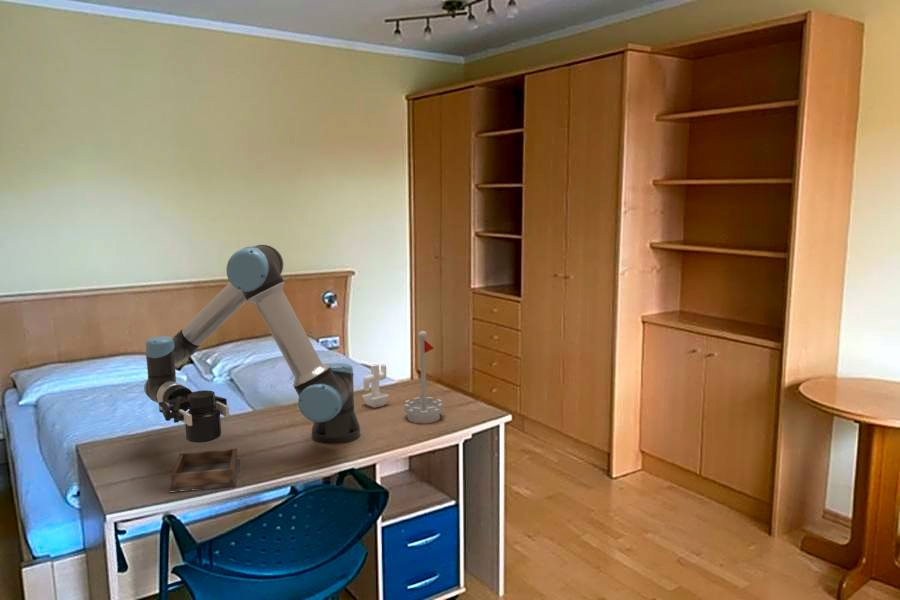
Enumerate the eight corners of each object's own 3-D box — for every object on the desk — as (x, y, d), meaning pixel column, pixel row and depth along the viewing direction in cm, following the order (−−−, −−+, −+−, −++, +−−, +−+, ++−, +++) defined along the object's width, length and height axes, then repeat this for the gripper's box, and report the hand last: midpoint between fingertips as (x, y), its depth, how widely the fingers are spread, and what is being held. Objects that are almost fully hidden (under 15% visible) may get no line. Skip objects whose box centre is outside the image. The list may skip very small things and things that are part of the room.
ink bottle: (206, 429, 184) (204, 387, 182) (229, 434, 179) (227, 391, 178) (177, 440, 175) (174, 396, 173) (200, 446, 171) (197, 401, 169)
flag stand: (396, 418, 225) (394, 331, 221) (423, 409, 235) (422, 325, 230) (424, 427, 217) (423, 336, 212) (450, 417, 226) (450, 330, 222)
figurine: (359, 405, 239) (357, 365, 237) (379, 400, 246) (379, 360, 243) (371, 410, 234) (370, 368, 232) (392, 404, 240) (391, 364, 238)
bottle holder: (239, 462, 188) (238, 447, 188) (235, 486, 173) (234, 469, 172) (179, 468, 185) (178, 453, 184) (169, 493, 169) (168, 476, 169)
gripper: (213, 402, 197) (249, 420, 181) (136, 418, 182) (167, 440, 166) (212, 377, 196) (248, 393, 180) (134, 392, 181) (165, 411, 165)
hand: (209, 416), depth 173 cm, fingers closed on ink bottle, 9 cm apart
